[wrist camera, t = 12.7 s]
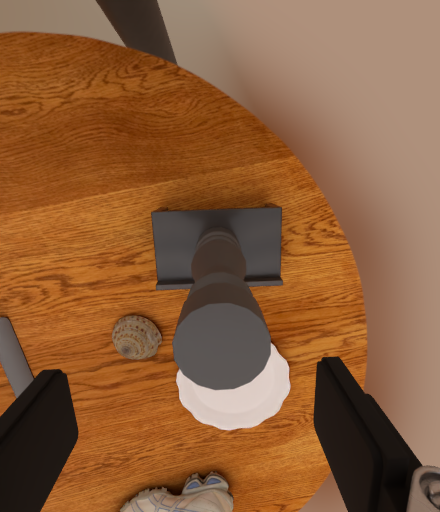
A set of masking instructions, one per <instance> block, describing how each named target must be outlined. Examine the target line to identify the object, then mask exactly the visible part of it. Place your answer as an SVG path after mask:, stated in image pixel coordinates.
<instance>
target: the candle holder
mask: <svg viewBox="0 0 440 512" xmlns="http://www.w3.org/2000/svg"><path fill="white" fill-rule="evenodd" d="M191 272H192V277H193V279H194V280H195V283H194V284H193V285H192V286H191V289H190V292H189V295H188V298H187V300H186V301H185V302H184V304H183V307H182V310H181V313H180V316H179V320H178V323H177V327H176V331H175V335H174V338H173V342H172V344H173V353H174V360H175V362H176V363H177V365H178V367H179V368H180V370H181V372H182V373H183V375H184V376H186V377H187V378H188V379H190V380H191V381H193V382H194V383H195V384H197V385H199V386H202V387H206V388H209V389H213V390H228V389H235V388H238V387H240V386H243V385H245V384H247V383H250V382H251V381H253V380H254V379H255V378H256V377H257V376H258V375H259V374H260V373H261V372H262V371H263V370H264V368H265V366H266V364H267V362H268V359H269V357H270V355H271V336H270V334H269V331H268V328H267V325H266V322H265V320H264V317H263V314H262V311H261V309H260V307H259V305H258V303H257V301H256V299H255V298H254V297H253V295H252V293H251V291H250V289H249V287H248V284H247V283H246V282H245V281H244V277H245V275H246V260H245V258H244V256H243V254H242V252H241V246H240V244H239V242H238V239H237V237H236V235H235V234H233V233H232V232H231V231H230V230H228V229H225V228H223V227H213V228H210V229H208V230H206V231H204V233H203V234H202V235H201V236H200V237H199V239H198V242H197V245H196V248H195V254H194V257H193V260H192V263H191Z"/></svg>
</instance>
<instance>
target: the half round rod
mask: <svg viewBox="0 0 440 512" xmlns="http://www.w3.org/2000/svg"><path fill="white" fill-rule="evenodd" d="M0 362H1V364H2V366H3V369H4V371H5V373H6V375H7V378H8V380H9V382H10V384H11V387H12V389H13V391H14V393H15V396H16V398H18V397H19V395H20V394H21V393H22V392H23V391H24V390H25V389H26V388H27V387H28V385H29V384H30V383H31V382H32V381H33V380H34V378H33V376H32V374H31V371H30V369H29V367H28V364H27V362H26V359H25V357H24V355H23V352H22V350H21V347H20V345H19V343H18V340H17V338H16V335H15V333H14V331H13V328H12V326H11V324H10V321H9V320H8V319H7V318H4V317H2V318H0Z"/></svg>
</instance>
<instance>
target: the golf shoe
mask: <svg viewBox="0 0 440 512" xmlns="http://www.w3.org/2000/svg"><path fill="white" fill-rule="evenodd" d="M228 487H229V485H228V482H227V481H226V480H225V478H224V477H222V476H221V475H219V474H217V471H215V473H213V472H210V474H209V475H208V476H207V477H206V478H205V479H201V478H200V477H199V475H198V473H196V474H192V478H191V476H189V478H187V479H186V483H185V486H184V488H183V491H182V494H181V495H179V496H174V495H172V494H171V492H170V491H169V492H167V488H164V487H162V489H161V488H160V489H157V487H156V488H155V489H152V490H151V491H150V492H149V488H148V490H146V489H145V491H144V490H143V491H142V492H139V496H138V495H137V494H136V497H134V498H133V499H132V500H131V501H130V502H129V500H128V501H127V503H125V505H123V507H122V508H121V509H120V512H232V510H233V495H232V493H231V492H230V491H229V490H228Z"/></svg>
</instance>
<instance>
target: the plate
mask: <svg viewBox="0 0 440 512" xmlns="http://www.w3.org/2000/svg"><path fill="white" fill-rule="evenodd" d="M176 382H177V385H178V388H179V399H180V401H181V403H182V405H183V406H184V407H185V408H187V409H188V410H189V411H190V412H191V413H192V414H193V416H194V417H195V419H197V420H198V421H200V422H201V423H204V424H209V425H213V426H215V427H217V428H219V429H222V430H233V429H238V428H251V427H254V426H257V425H259V424H260V423H261V422H262V421H264V420H265V419H267V418H269V417H271V416H273V415H275V414H276V413H277V412H278V411H279V410H280V407H281V405H282V402H283V400H284V399H285V398H286V397H287V395H288V394H289V391H290V381H289V366H288V364H287V361H286V360H285V359H284V358H283V357H282V356H281V355H280V354H279V353H278V351H277V349H276V347H275V346H274V345H273V344H272V343H271V355H270V357H269V359H268V362H267V364H266V366H265V368H264V370H263V371H262V372H261V373H260V374H259V375H258V376H257V377H256V378H255V379H254V380H253V381H251V382H250V383H247V384H245V385H243V386H240V387H238V388H235V389H228V390H213V389H209V388H206V387H202V386H199V385H197V384H195V383H194V382H193V381H191V380H190V379H188V378H187V377H186V376H184V375H183V373H182V372H181V370H180V369H179V371H178V373H177V379H176Z"/></svg>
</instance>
